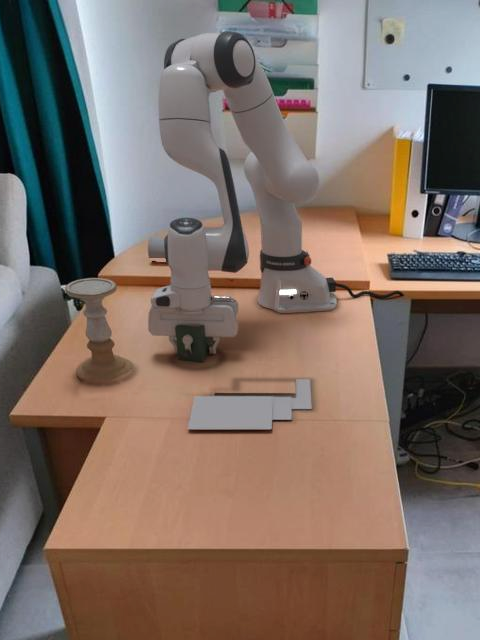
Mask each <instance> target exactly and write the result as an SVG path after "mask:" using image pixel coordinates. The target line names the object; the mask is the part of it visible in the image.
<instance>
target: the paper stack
mask: <svg viewBox="0 0 480 640" xmlns="http://www.w3.org/2000/svg"><path fill="white" fill-rule="evenodd" d="M294 382H295V383H294V384H295V392H214V394H213V395H195V396H194V398H193V401H192V407H191V411H190V415H189V420H188V424H187V428H186V430H192V431H193V430H195V431H196V430H200V431H201V430H272V429H273V421H292V420H293V414H292V411H293V410H312V408H313V407H312V391H311V390H312V389H311V378H309V379H308V378H303V379H302V378H301V379H300V378H295V379H294Z"/></svg>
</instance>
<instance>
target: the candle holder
mask: <svg viewBox="0 0 480 640" xmlns="http://www.w3.org/2000/svg"><path fill="white" fill-rule="evenodd" d="M117 289H118V285H117V284H116V282H115V281H113V280H111V279H109V278H104V277H103V278H101V277H88V278H80V279H76V280H74V281H71V282H69V283H68V284H66V285H65V287H64V291H65V293H66V295H67V296H69V297H71V298H75V299H78V300H79V299H80V300H81V301H82V302H83V303H84V305H85V309H83V311H82V314H83V316H84V317H86V328H85V337H86V338H87V339H88V342H87V343H86V348H87V349H88V350H89V351H90V352H91V356H90V357H88V358H86V359H85V360H84V361H82V362H81V363H79V364H78V365H77V367H76V370H75V371H76V373H75V374H76V376H77V378H78V379H79V380H81V381H82V382H84V380H85V379H88V380H100V381H101V380H110V379H116V378H119V377H122V376H124V375H126V374H128V373H129V372H130V371H131V370H132V368H133V362H132V361H131V360H129V359H127V358H125V357H123V356H120V355H118V354H114V351H113V349H114V347H115V341H114V340H113V339H111V337H112V335H113V332H112V329H111V326H110V325H109V323H108V320H107V318H106V317H107V314H108V309H107V308H105V307H104V305H103V301H104V299H105V298H106V297H110V296H111V295H113V294H114V293H116V292H117Z"/></svg>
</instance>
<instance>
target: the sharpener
mask: <svg viewBox="0 0 480 640" xmlns="http://www.w3.org/2000/svg"><path fill="white" fill-rule="evenodd" d="M175 332H176V341H177V351H178V353H177V360H179V361H185V362H186V361H187V362H188V361H189V362H197V363H204V362H205V360H206V359H207V358H208V357H209V355H210V354H209V345H210V344H213V343H214V342H215V341H214V340H213V337H206V336H205V326H204V325H201V324H181V325H177V326H176V327H175Z"/></svg>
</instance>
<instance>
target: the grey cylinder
mask: <svg viewBox="0 0 480 640" xmlns="http://www.w3.org/2000/svg"><path fill="white" fill-rule="evenodd" d="M164 239H165V237H158V236H150V237H149V239H148V242H147V255H148V259H149V258H165V248H164Z"/></svg>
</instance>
